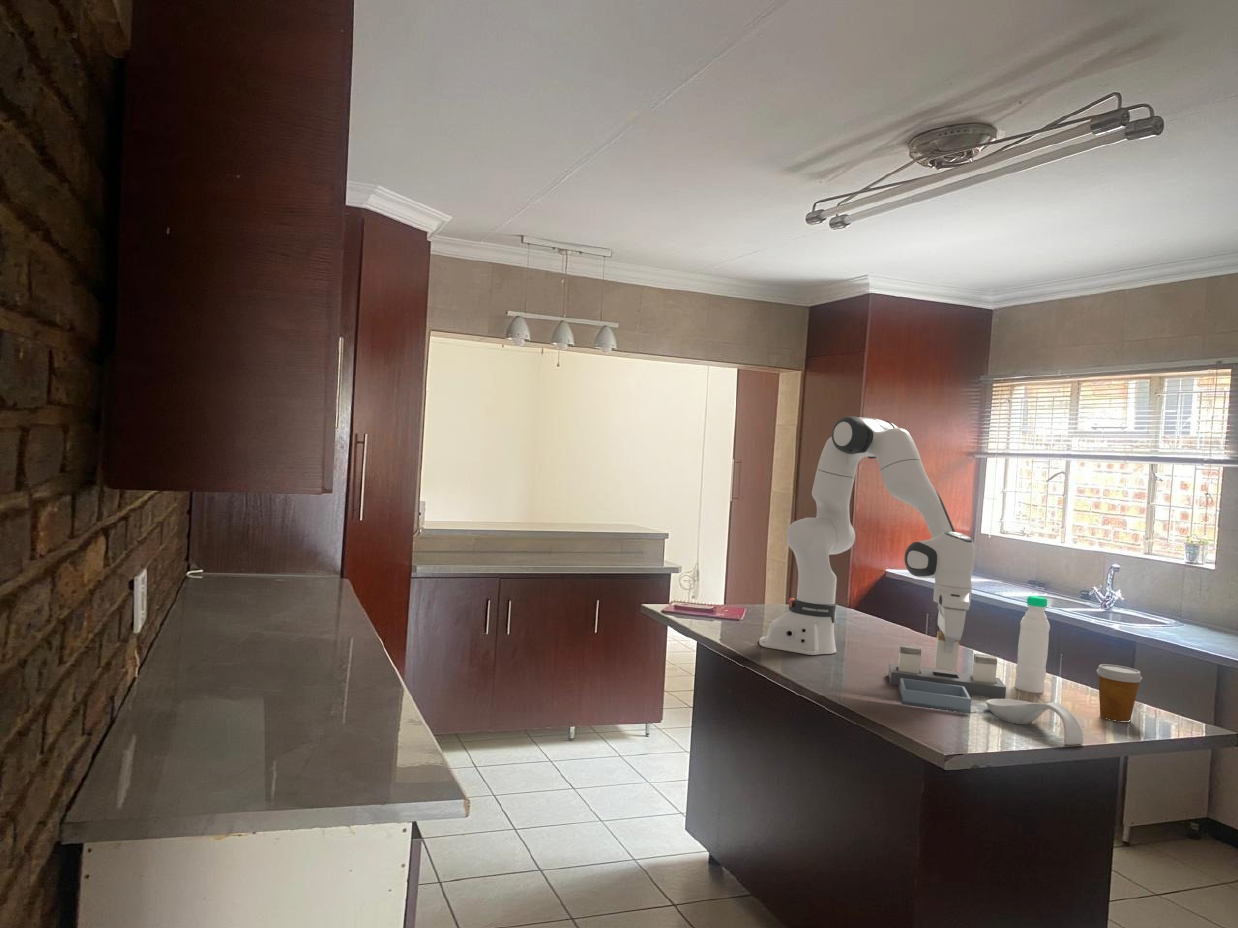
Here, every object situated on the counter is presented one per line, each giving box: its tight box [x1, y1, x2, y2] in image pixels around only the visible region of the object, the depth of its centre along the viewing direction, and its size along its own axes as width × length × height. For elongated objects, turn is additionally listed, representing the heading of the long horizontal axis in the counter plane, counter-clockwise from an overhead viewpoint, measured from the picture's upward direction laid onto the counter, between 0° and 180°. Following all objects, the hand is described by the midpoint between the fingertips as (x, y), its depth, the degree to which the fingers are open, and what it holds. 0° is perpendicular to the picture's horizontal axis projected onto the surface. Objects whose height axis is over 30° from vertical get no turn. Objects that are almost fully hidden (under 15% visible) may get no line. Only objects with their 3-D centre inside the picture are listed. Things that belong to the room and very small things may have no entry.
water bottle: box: [1014, 595, 1051, 694], centre depth 233 cm, size 7×7×25 cm
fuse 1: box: [897, 644, 922, 673], centre depth 230 cm, size 5×4×9 cm
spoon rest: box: [985, 698, 1084, 746], centre depth 201 cm, size 24×12×7 cm, turn 20°
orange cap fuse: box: [933, 630, 960, 672], centre depth 228 cm, size 5×4×9 cm
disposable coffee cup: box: [1096, 663, 1143, 721], centre depth 214 cm, size 10×10×12 cm
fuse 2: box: [972, 653, 998, 683], centre depth 226 cm, size 5×4×9 cm
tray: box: [898, 678, 972, 714], centre depth 215 cm, size 15×12×4 cm
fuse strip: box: [888, 663, 1007, 699], centre depth 228 cm, size 27×10×4 cm, turn 76°
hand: (946, 650), depth 228 cm, fingers closed on orange cap fuse, 3 cm apart
